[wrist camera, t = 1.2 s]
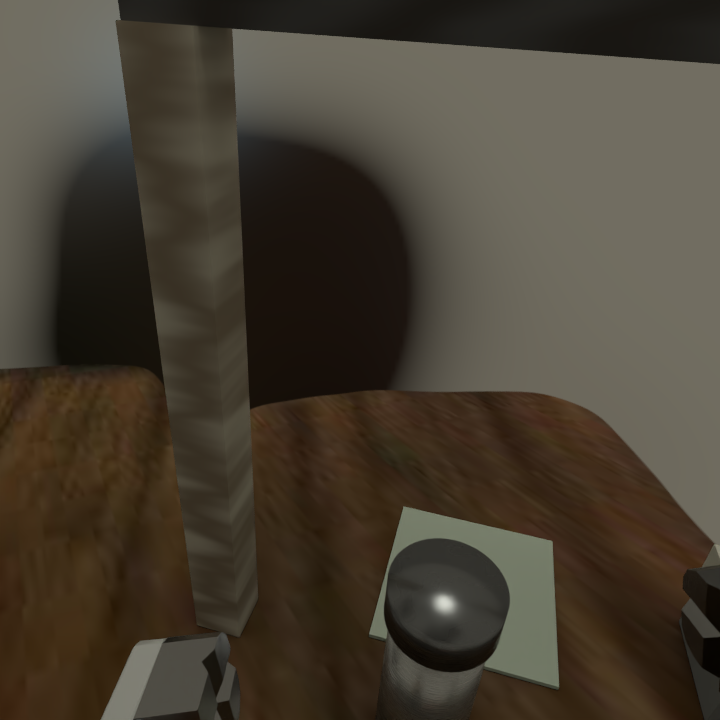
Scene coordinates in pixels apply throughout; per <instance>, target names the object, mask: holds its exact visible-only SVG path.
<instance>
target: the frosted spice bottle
mask: <svg viewBox="0 0 720 720" xmlns="http://www.w3.org/2000/svg"><path fill="white" fill-rule="evenodd" d="M509 606H510V593H509V588H508V585H507V582H506V580H505V578H504V576H503V574H502V573H501V571H500V570H499V568H498V567H497V566H496V565H495V563H494V562H493V561H492V560H491V559H490V558H489V557H487V556H486V555H485V554H483V553H482V552H481V551H479V550H477V549H476V548H474V547H472V546H470V545H468V544H465V543H463V542H459V541H456V540H451V539H443V538H432V539H425V540H421V541H418V542H415V543H412V544H411V545H409V546H407V547H405V548H404V549H403V550H402V551H400V552H399V553H398V554H397V556H396V557H395V558H394V560H393V562H392V563H391V566H390V569H389V573H388V579H387V586H386V594H385V602H384V619H385V624H386V627H387V637H386V645H385V652H384V659H383V667H382V674H381V681H380V689H379V696H378V703H377V710H376V718H375V720H469V717H470V714H471V710H472V707H473V703H474V700H475V696H476V693H477V690H478V686H479V683H480V679H481V676H482V672H483V669H484V665H485V662H486V661H487V660H488V659H489V658H490V657H491V656H492V654H493V653H494V652H495V650H496V648H497V646H498V644H499V640H500V637H501V634H502V630H503V627H504V624H505V620H506V617H507V614H508V610H509Z"/></svg>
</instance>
